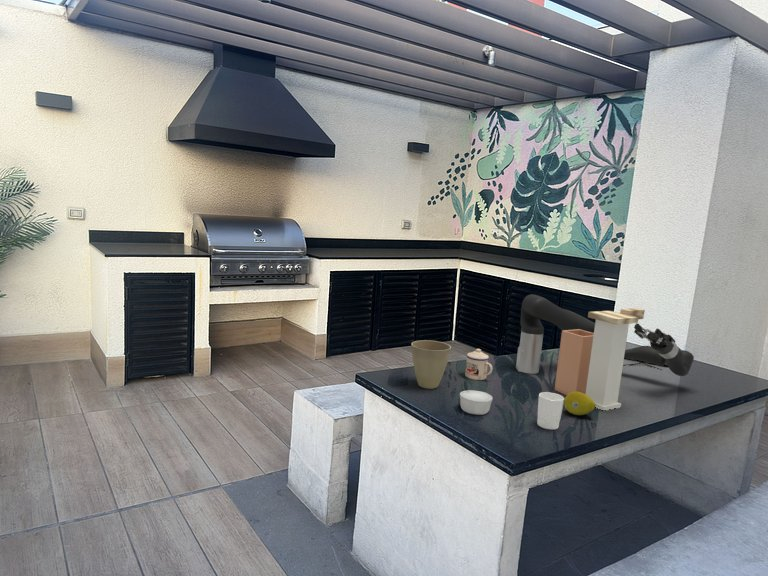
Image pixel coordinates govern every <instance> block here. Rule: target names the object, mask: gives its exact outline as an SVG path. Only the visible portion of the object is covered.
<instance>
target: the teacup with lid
mask: <svg viewBox="0 0 768 576" xmlns="http://www.w3.org/2000/svg"><path fill="white" fill-rule="evenodd" d="M489 359H490V357H489V355H488V354H487V353H484V352H483V351H482V349H480V348H476V349H475V350H474V351H472V352H468V353H467V354H466V362H465V372H464V375H465V377H466V378H468V379H470V380H475V381H482V380H486V379H487V376H488V375H489V376H490V375H491V373H492V372H493V365H492V363H490V362H489ZM488 367H489V371H488Z"/></svg>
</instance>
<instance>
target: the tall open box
mask: <svg viewBox="0 0 768 576" xmlns="http://www.w3.org/2000/svg"><path fill="white" fill-rule="evenodd" d="M593 336H594V333H591V332H587V331H584V330H581V329H576V330H561V336H560V345H559V352H558V360H557V369H556V373H555V374H556V376H555V382H554V383H555V384H554V391H555V392H558V393H561V394H562V395H565V396H567V395H568V394H569V393H570V392H574V391H575V392H581V393H584V394H586V387H587V380H588V372H589V365H590V358H591V351H592V344H593Z"/></svg>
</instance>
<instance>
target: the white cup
mask: <svg viewBox="0 0 768 576" xmlns="http://www.w3.org/2000/svg"><path fill="white" fill-rule="evenodd" d="M564 398H565V397H564V396H563V395H561V394H558V393H555V392H549V391H545V392H539V394H538V404H537V419H536V421H537V422H536V424H537V426H539V427H540V428H543V429H545V430H553V431H554V430H558V428H559V426H560V421H561V417H562V413H563V408H564Z"/></svg>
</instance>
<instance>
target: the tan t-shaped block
mask: <svg viewBox="0 0 768 576" xmlns="http://www.w3.org/2000/svg"><path fill="white" fill-rule="evenodd" d="M644 317H645V309H643V308H638V307H636V308H634V307H633V308H621V309H620V311H619V312H617V311H613V310H602V311H600V310H597V311H588V314H587V318H589V319H593V320H595V321H596V320H600V321H604V322H608V323H612V324H616V325H619V324H629V325H631V324H636V323H637V324H639V320H644Z"/></svg>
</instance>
